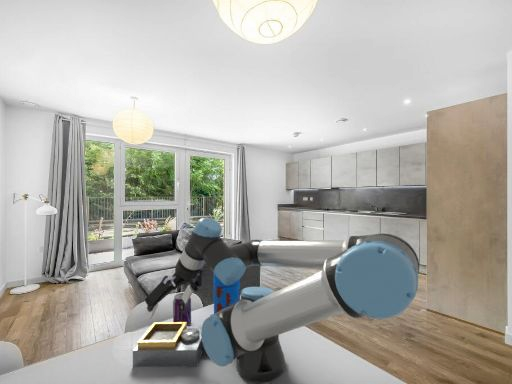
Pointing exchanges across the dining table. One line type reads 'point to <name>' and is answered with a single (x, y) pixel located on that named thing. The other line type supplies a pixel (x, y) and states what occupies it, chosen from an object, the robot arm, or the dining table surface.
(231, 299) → the thermos
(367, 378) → the dining table surface
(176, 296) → the beverage can
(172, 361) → the grey holder stand
